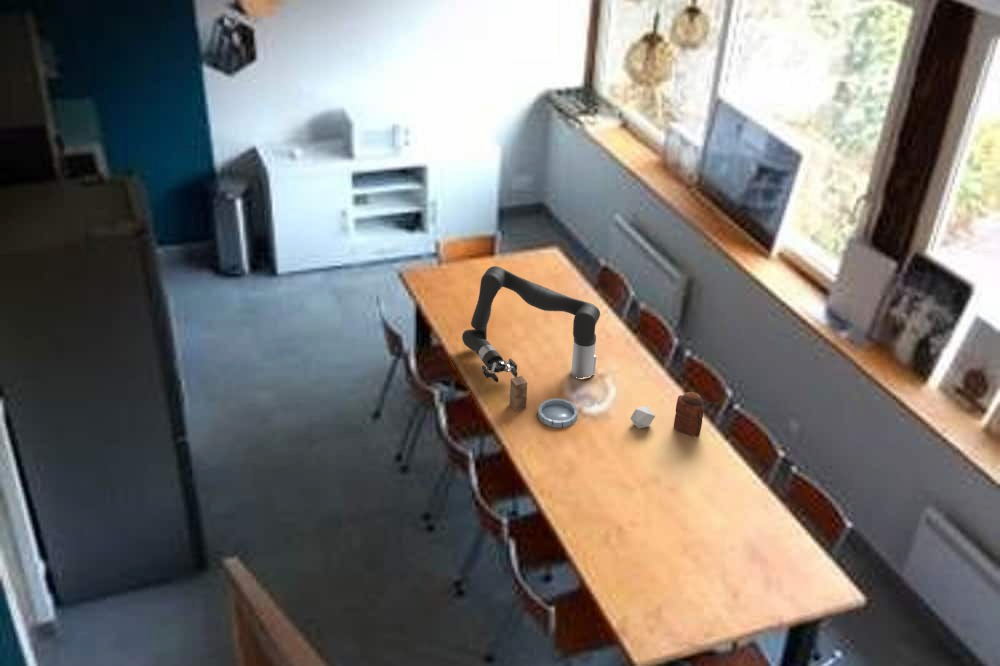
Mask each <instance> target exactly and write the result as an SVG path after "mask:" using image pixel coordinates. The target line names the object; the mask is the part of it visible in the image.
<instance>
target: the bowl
mask: <svg viewBox="0 0 1000 666" xmlns="http://www.w3.org/2000/svg"><path fill="white" fill-rule="evenodd" d="M537 414H538V415H537V417H538V419H539V420H540V421H541V424H544V425H546V426H549V427H550V428H551V427H552V428H558V429H560V428H561V429H562V428H567V427H570V426H572V425H574V423H576V422H577V420H578V407H577V406H576V405H575V404H574V403H572V401H570V400H568V399H563V398H557V397H555V398H554V397H553V398H549V399H546V400H544V401H543V402H542V403H541V404H540V405H539V406H538V413H537Z"/></svg>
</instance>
